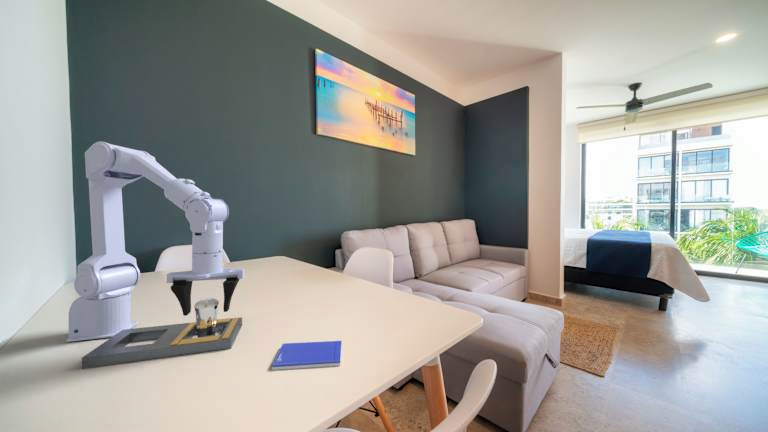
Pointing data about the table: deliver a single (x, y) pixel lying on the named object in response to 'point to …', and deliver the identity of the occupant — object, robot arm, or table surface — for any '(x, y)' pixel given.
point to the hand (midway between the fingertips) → (207, 312)
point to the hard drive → (308, 355)
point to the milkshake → (206, 316)
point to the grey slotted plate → (162, 343)
